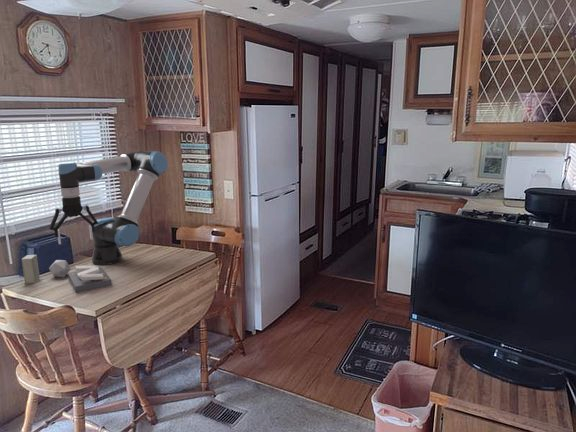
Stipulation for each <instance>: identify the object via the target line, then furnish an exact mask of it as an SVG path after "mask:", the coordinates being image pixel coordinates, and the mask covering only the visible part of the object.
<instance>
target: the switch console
mask: <svg viewBox="0 0 576 432" xmlns="http://www.w3.org/2000/svg"><path fill="white" fill-rule="evenodd" d="M98 268H99V271H100V272H98V273H95V274H102V275H103V276H104V279H99V280H81V279H79V277H78V275H77V273H79V272H82V271H73V272H68V273H67V276H68V280H69V282H70V284H71V286H72V288H73V291H74V293H75V294H79V293H83V292H89V291H93V290H99V289H103V288H109V287H112V286H113V282H112V278H110V276H109V275H108V274H107V271H105V270H104V268H103V267H98Z"/></svg>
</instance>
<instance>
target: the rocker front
mask: <svg viewBox="0 0 576 432" xmlns="http://www.w3.org/2000/svg"><path fill="white" fill-rule="evenodd" d="M80 278H81V280H99V279H104V276H103V275H102V274H80Z"/></svg>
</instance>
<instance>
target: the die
mask: <svg viewBox="0 0 576 432" xmlns="http://www.w3.org/2000/svg"><path fill="white" fill-rule="evenodd" d="M48 269H49V271H50V272H51V274H52V275H53V277H54V278H65V277H66V275H68V273H70V271H71V270H72V268H71V267H70V265H69V263H68V262H67V260H63V259H56V260H54V262H53V263H52V264H51V265H50V266H49V267H48Z"/></svg>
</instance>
